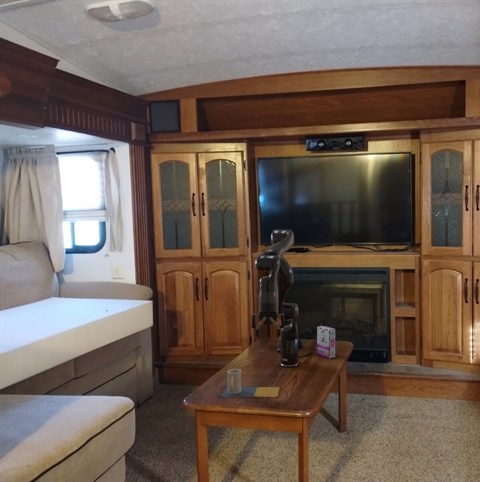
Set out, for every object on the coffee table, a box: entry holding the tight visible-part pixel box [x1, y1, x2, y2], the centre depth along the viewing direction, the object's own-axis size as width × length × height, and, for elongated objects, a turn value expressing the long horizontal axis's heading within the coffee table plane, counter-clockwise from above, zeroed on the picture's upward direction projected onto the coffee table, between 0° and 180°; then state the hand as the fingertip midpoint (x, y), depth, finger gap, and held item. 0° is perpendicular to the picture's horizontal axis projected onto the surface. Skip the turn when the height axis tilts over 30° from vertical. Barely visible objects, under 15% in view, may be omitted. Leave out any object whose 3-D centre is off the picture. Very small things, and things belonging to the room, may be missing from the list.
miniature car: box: [276, 338, 303, 352], centre depth 263 cm, size 9×18×8 cm, turn 156°
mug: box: [226, 368, 242, 394], centre depth 196 cm, size 9×6×10 cm
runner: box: [220, 386, 281, 398], centre depth 197 cm, size 11×25×1 cm, turn 90°
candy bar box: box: [316, 325, 337, 360], centre depth 250 cm, size 11×5×16 cm, turn 41°
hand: (268, 337), depth 191 cm, fingers open, 8 cm apart
